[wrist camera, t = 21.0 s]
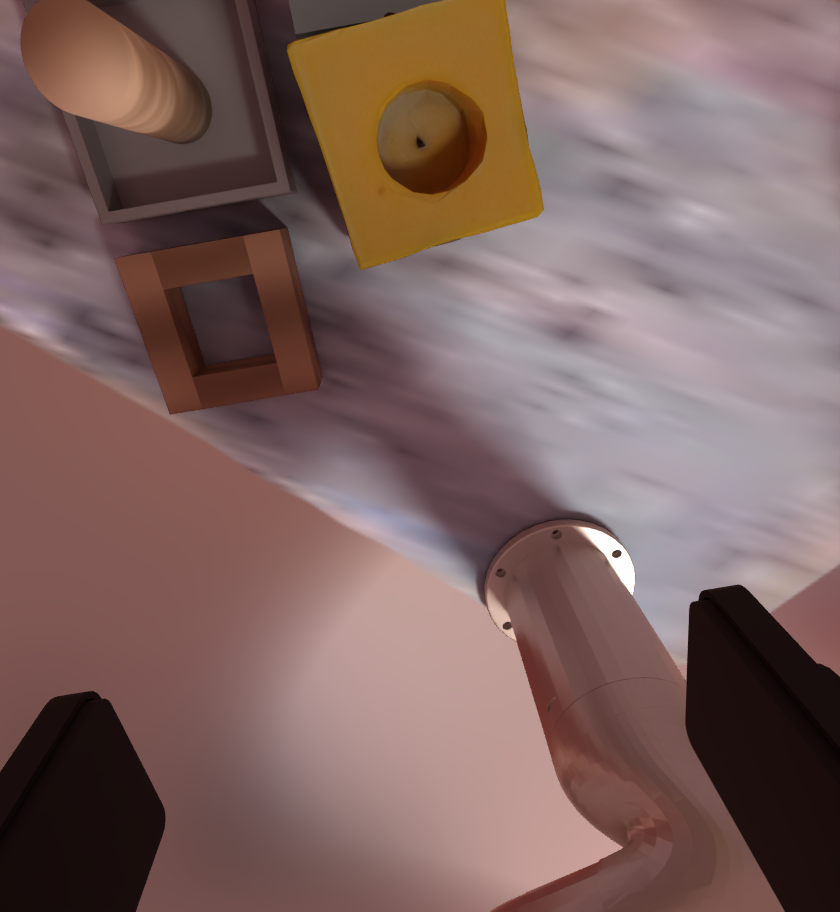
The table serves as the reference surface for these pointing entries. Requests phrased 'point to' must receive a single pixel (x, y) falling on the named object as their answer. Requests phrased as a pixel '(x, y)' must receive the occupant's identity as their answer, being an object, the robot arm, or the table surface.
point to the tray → (230, 131)
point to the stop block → (342, 13)
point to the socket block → (173, 336)
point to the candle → (420, 126)
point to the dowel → (111, 73)
